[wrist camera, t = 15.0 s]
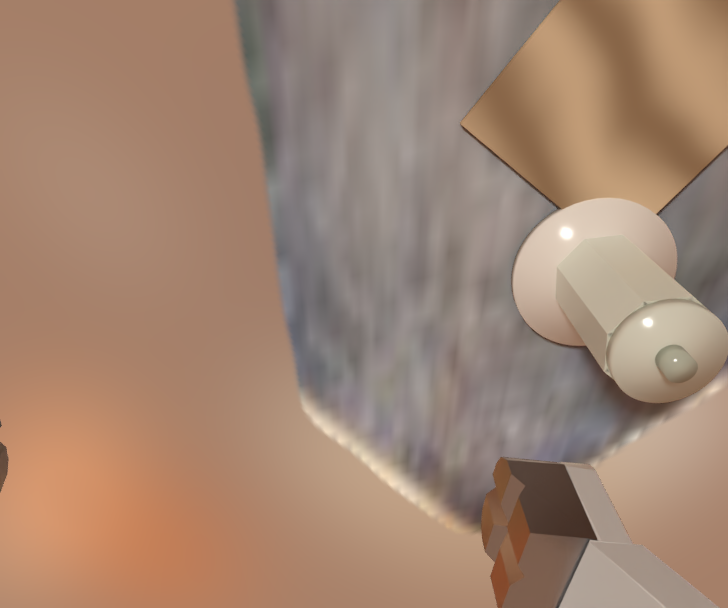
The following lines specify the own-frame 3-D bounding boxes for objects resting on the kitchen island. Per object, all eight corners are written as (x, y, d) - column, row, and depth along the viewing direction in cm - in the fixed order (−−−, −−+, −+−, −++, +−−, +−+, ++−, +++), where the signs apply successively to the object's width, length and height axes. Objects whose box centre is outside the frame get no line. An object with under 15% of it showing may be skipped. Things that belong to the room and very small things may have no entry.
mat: (668, -134, 29) (672, -136, 29) (823, 48, 33) (828, 48, 33) (459, 122, 35) (460, 124, 35) (612, 251, 39) (614, 253, 39)
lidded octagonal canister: (604, 219, 37) (693, 296, 27) (663, 270, 39) (767, 361, 29) (537, 284, 39) (597, 378, 29) (596, 331, 41) (671, 434, 31)
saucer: (596, 161, 36) (601, 164, 35) (704, 258, 39) (711, 263, 39) (478, 285, 40) (480, 291, 40) (585, 365, 43) (588, 371, 43)
